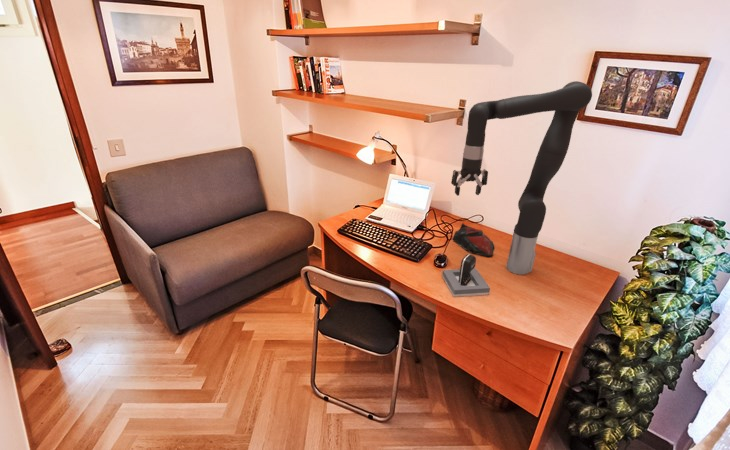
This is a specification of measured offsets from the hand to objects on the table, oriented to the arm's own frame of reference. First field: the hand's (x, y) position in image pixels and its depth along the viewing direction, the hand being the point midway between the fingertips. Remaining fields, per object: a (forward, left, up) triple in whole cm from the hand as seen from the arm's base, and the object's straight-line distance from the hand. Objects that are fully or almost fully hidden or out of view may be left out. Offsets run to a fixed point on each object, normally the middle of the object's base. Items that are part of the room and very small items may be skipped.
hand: (467, 194), depth 151 cm
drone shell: (-11, -11, -31) cm, 34 cm away
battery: (+4, +20, -29) cm, 36 cm away
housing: (+5, +21, -30) cm, 37 cm away
